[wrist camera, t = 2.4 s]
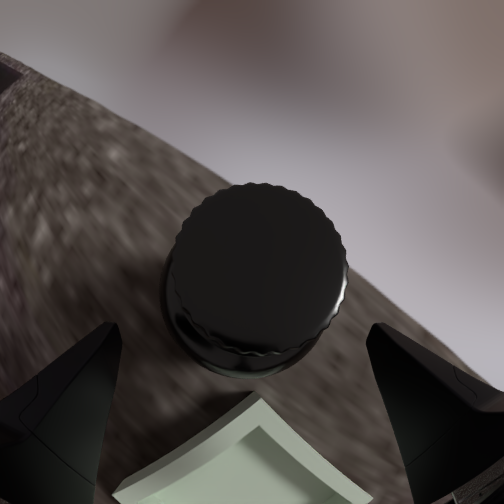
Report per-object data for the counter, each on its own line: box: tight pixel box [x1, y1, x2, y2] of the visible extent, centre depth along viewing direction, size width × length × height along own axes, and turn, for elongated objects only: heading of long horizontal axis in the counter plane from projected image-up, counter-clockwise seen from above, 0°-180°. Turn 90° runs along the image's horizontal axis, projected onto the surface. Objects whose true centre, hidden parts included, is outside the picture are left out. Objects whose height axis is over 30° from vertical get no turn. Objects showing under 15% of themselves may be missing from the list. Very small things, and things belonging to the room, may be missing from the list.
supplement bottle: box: [159, 182, 349, 379], centre depth 12 cm, size 7×7×12 cm
